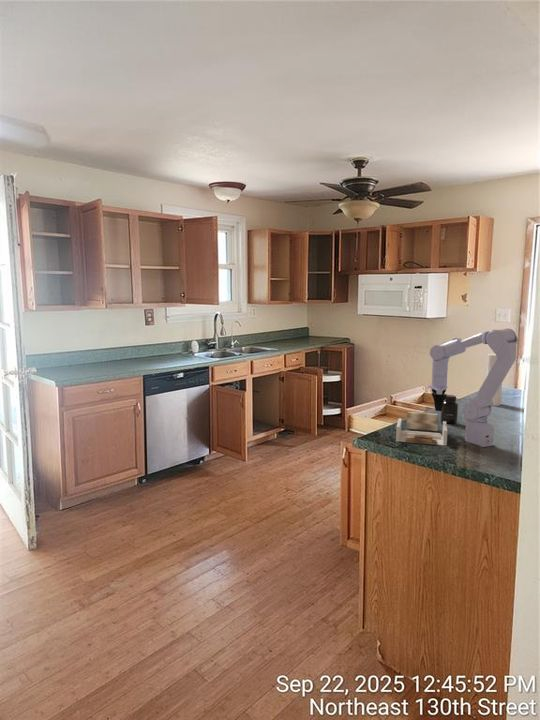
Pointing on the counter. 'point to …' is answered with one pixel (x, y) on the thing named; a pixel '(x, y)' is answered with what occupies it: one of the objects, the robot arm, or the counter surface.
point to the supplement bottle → (449, 410)
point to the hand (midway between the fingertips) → (438, 408)
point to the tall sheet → (422, 421)
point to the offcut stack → (421, 439)
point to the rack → (436, 436)
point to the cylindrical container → (490, 363)
